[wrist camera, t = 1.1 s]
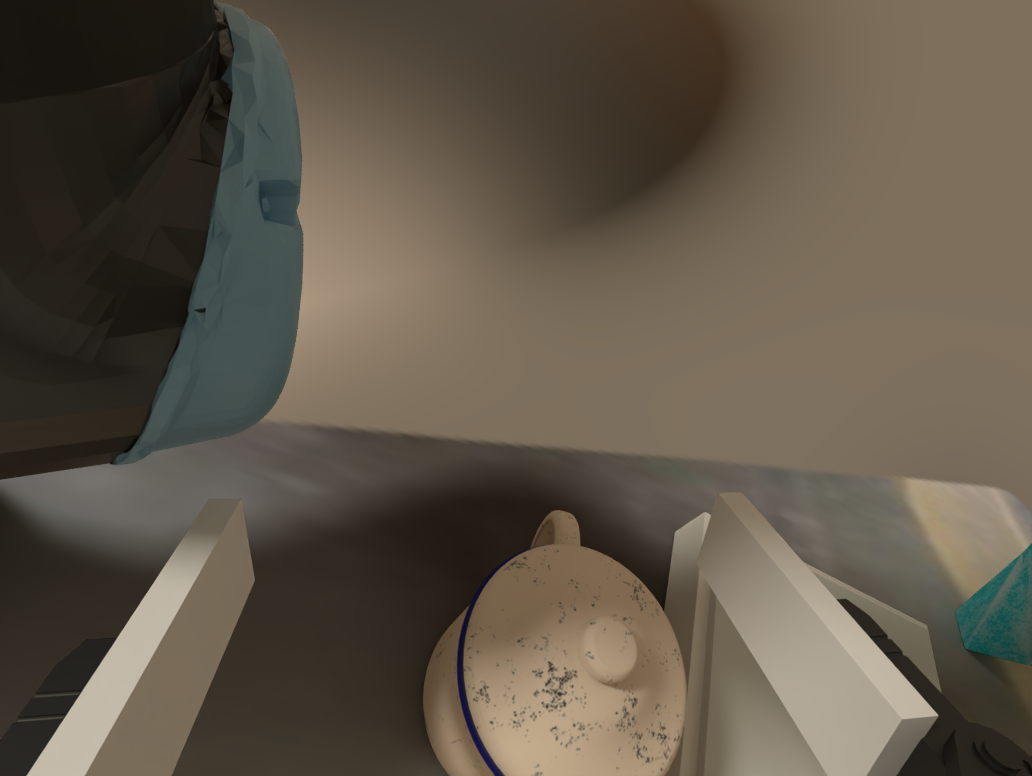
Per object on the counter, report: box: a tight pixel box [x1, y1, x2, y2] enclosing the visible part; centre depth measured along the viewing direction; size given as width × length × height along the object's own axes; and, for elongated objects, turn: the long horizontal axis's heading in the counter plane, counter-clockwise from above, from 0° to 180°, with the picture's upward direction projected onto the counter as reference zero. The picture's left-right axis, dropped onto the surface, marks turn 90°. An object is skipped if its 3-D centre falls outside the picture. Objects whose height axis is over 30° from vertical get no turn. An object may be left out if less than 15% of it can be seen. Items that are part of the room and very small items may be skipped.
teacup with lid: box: [423, 510, 687, 776], centre depth 22 cm, size 12×9×12 cm
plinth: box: [664, 512, 941, 776], centre depth 28 cm, size 16×16×4 cm
